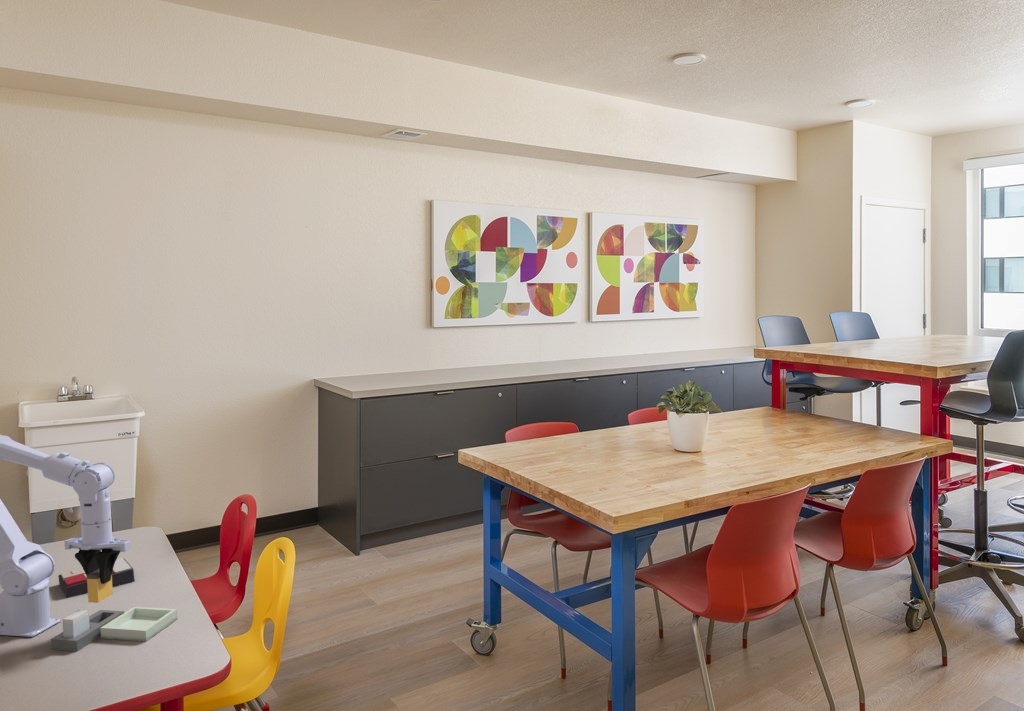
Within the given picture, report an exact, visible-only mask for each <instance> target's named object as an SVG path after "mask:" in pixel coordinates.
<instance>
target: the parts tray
mask: <svg viewBox="0 0 1024 711" xmlns="http://www.w3.org/2000/svg"><path fill="white" fill-rule="evenodd" d="M177 620H178V608H165V607H163V608H161V607H146V606H133V607H131V608H130V609H128V610H127V611H124V613H123V614H122V615H120V616H118V617H117V618H115V619H114V620H112V621H110V622H109V623H107V624H106V625H104V626H102V627H101V628H100V632H101V637H100V639H102V640H103V639H105V640H118V641H119V640H122V641H135V642H148V641H149V640H150V639H152V638H154V637H155V636H156V635H158V634H159V633H160V632H162V631H163V630H165V629H166V628H167V627H168V626H170V625H172V624H173V623H174V622H176V621H177Z"/></svg>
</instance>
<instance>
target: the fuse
mask: <svg viewBox="0 0 1024 711" xmlns="http://www.w3.org/2000/svg"><path fill="white" fill-rule="evenodd" d="M89 616H90V612H89V610H85V609H84V610H83V609H78V610H75V611H73V612H72V613H71V614H69V615H67V616H65V617H64V618H62V620H61V622H62V632H63V637H65V638H75V637H77V636H78V635H80V634H82V633H83V632H85V631H86V630H88V629H90V625H89Z"/></svg>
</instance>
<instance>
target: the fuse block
mask: <svg viewBox="0 0 1024 711" xmlns="http://www.w3.org/2000/svg"><path fill="white" fill-rule="evenodd" d="M123 613H125V611H123V610H111V609H110V610H108V609H107V610H106V609H99V610H98V611H96V612H94V613H92V614H91V615H89V625H90V629H88V630H86V631H85V632H83V633H82V634H80V635H78V636H77V637H75V638H65V637H63V631H62V632H59V634H57V635H55V636H53V637H52V638H50V648H51V650H52V651H53V650H54V651H68V652H69V651H70V652H79V651H80V650H82V649H84V648H85V647H86V646H88V645H90V644H91V643H92V642H94V641H96V640H98V639H99V638H101V632H100V628H101V627H102V626H104V625H106V624H107V623H109V622H110V621H112V620H114V619H115V618H117V617H118V616H120V615H122V614H123Z"/></svg>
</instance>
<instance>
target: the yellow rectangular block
mask: <svg viewBox="0 0 1024 711" xmlns="http://www.w3.org/2000/svg"><path fill="white" fill-rule="evenodd" d="M87 587H88V593H87V601H88V603H94V604H98V603H100V602H102V601H105V600H106V599H107V598H109V597H111V596H113V595H114V593H113V592H114V591H113V586H112V575H111V580H110V581H109V582H107V583H105V584H101V581H100V572H99V569H98V570H96V571H94V572H92V573H90V574H88V575H87Z"/></svg>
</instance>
